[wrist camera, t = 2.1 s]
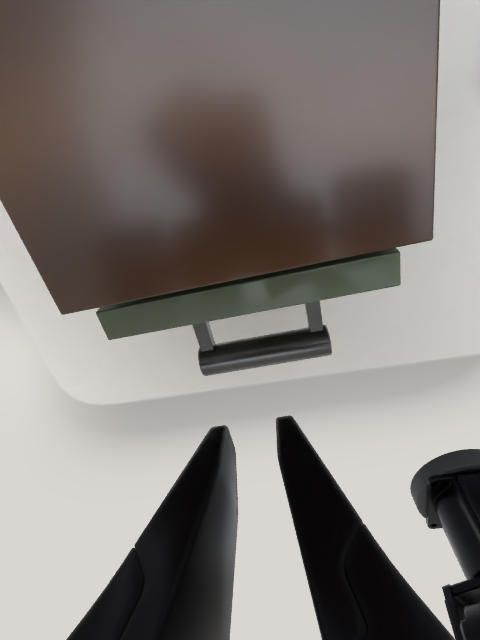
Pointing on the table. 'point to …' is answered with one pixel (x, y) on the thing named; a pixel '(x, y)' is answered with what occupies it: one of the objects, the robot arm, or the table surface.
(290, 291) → the drawer
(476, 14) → the table surface
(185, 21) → the cabinet
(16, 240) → the table surface
